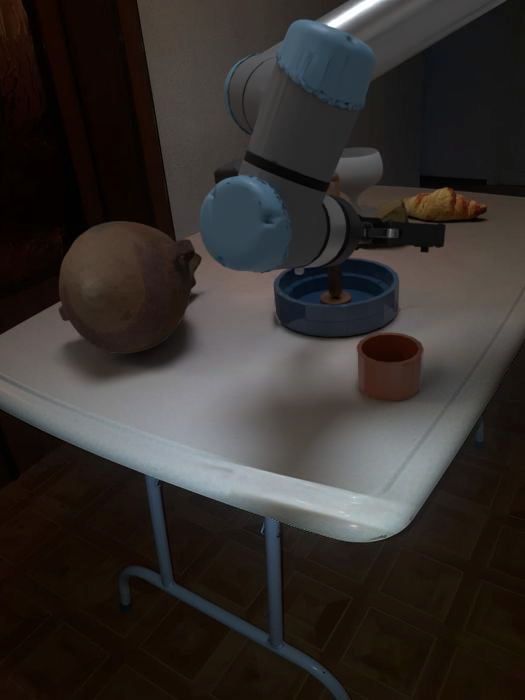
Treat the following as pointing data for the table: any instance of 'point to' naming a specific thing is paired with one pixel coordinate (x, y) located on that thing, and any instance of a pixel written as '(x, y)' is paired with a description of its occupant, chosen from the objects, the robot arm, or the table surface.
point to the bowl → (338, 319)
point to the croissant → (443, 206)
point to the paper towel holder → (335, 271)
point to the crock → (389, 366)
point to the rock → (392, 212)
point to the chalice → (359, 174)
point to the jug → (126, 285)
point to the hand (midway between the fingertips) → (380, 234)
